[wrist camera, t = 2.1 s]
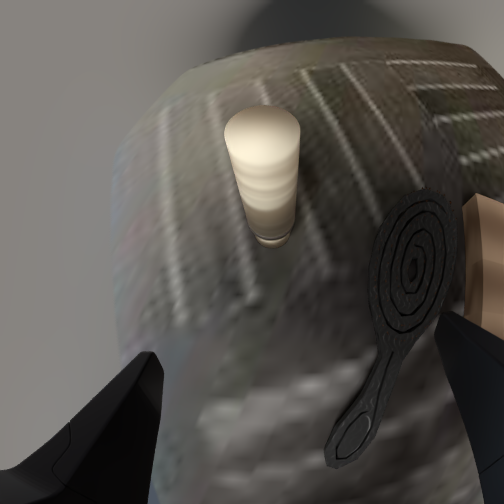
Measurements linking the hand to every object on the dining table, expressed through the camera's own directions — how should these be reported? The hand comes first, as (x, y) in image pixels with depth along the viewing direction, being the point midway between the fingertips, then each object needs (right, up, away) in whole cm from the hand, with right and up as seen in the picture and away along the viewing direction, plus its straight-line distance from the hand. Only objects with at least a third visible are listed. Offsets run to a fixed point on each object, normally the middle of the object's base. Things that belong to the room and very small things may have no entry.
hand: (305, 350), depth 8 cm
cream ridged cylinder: (0, +4, +17) cm, 17 cm away
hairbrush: (+10, -4, +13) cm, 17 cm away
